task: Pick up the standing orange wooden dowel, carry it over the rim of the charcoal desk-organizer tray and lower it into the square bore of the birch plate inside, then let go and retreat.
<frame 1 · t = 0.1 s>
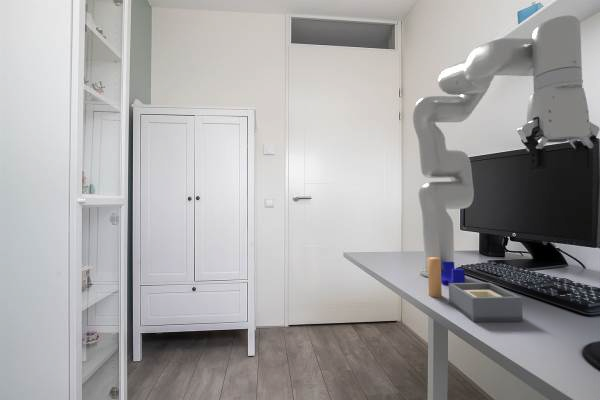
hand: (560, 169, 63), 31 cm above the table, tool pointing down, fingers open, 9 cm apart
peg: (435, 295, 85), on the table
cable clip: (450, 286, 95), on the table
box: (482, 311, 72), on the table
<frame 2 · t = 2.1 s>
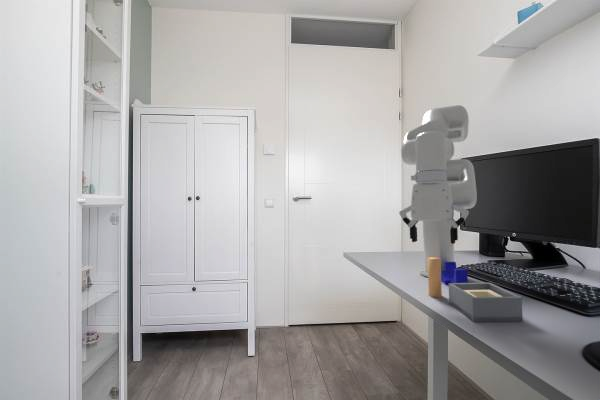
hand: (433, 242, 84), 14 cm above the table, tool pointing down, fingers open, 9 cm apart
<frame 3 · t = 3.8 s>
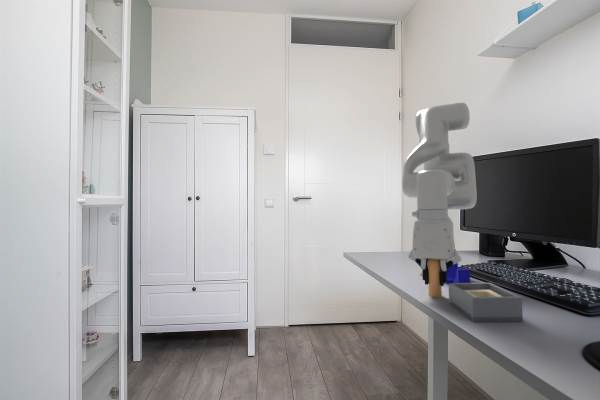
hand: (434, 283, 85), 3 cm above the table, tool pointing down, fingers closed on peg, 3 cm apart
peg: (435, 295, 85), on the table, touching gripper
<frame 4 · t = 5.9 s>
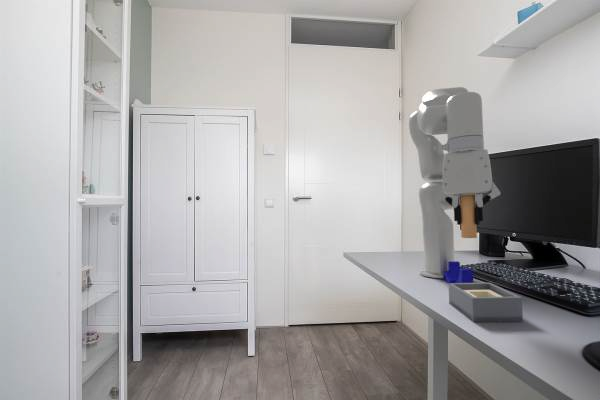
hand: (468, 223, 74), 20 cm above the table, tool pointing down, fingers closed on peg, 3 cm apart
peg: (469, 237, 74), point 17 cm above the table, touching gripper
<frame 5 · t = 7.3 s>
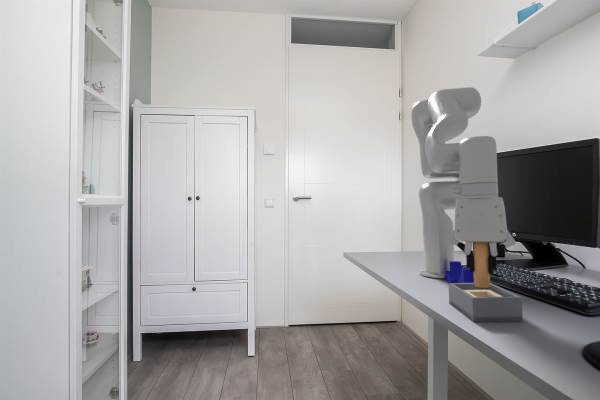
hand: (481, 271, 72), 9 cm above the table, tool pointing down, fingers closed on peg, 3 cm apart
peg: (482, 285, 72), point 6 cm above the table, touching gripper
when the fingers open (5 cm above the table, at t = 8.3 s): peg stays where it is, resting on box.
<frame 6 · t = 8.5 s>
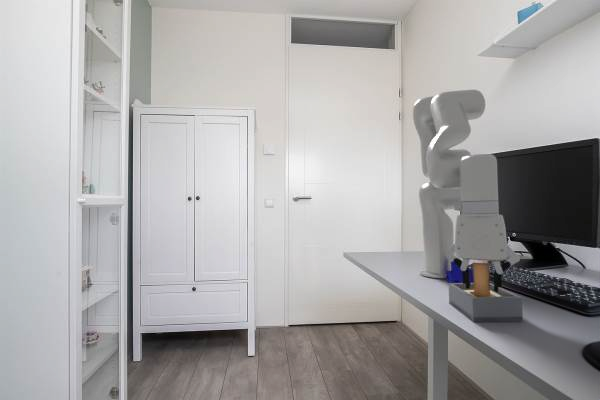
hand: (481, 288, 72), 5 cm above the table, tool pointing down, fingers open, 5 cm apart
peg: (482, 307, 72), point 1 cm above the table, touching box
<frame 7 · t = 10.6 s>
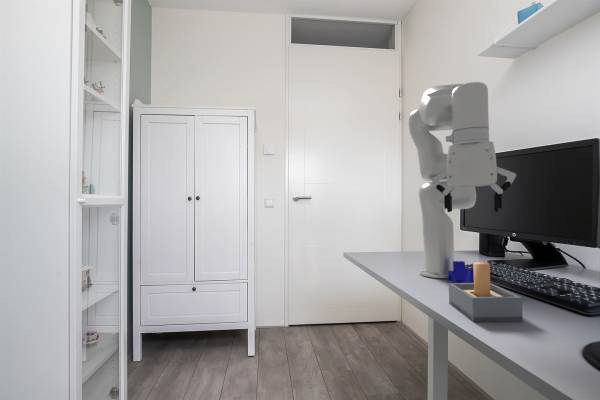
hand: (472, 211, 74), 23 cm above the table, tool pointing down, fingers open, 9 cm apart
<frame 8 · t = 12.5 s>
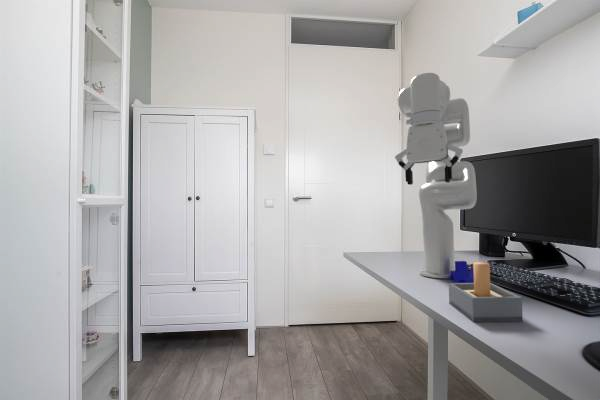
hand: (428, 183, 86), 30 cm above the table, tool pointing down, fingers open, 9 cm apart
at the end: peg 0.0 cm off-centre on the box, point 1.0 cm above the box's base; peg tilted 0°; the gripper is holding nothing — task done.
